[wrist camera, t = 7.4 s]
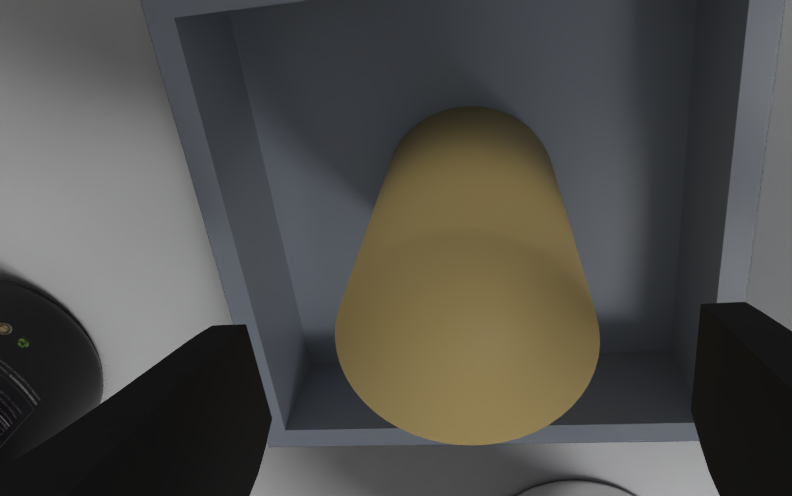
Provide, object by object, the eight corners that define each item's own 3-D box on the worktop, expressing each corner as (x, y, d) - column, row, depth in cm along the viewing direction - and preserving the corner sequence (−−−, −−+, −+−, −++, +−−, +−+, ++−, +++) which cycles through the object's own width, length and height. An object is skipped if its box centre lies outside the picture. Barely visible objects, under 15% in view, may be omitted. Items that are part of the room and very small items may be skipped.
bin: (726, -99, 14) (798, -103, 11) (687, 356, 19) (727, 440, 16) (204, -25, 16) (136, -11, 13) (299, 369, 21) (269, 447, 18)
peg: (553, 98, 16) (602, 219, 9) (555, 257, 18) (598, 444, 11) (375, 114, 16) (312, 239, 10) (397, 265, 18) (356, 446, 12)
